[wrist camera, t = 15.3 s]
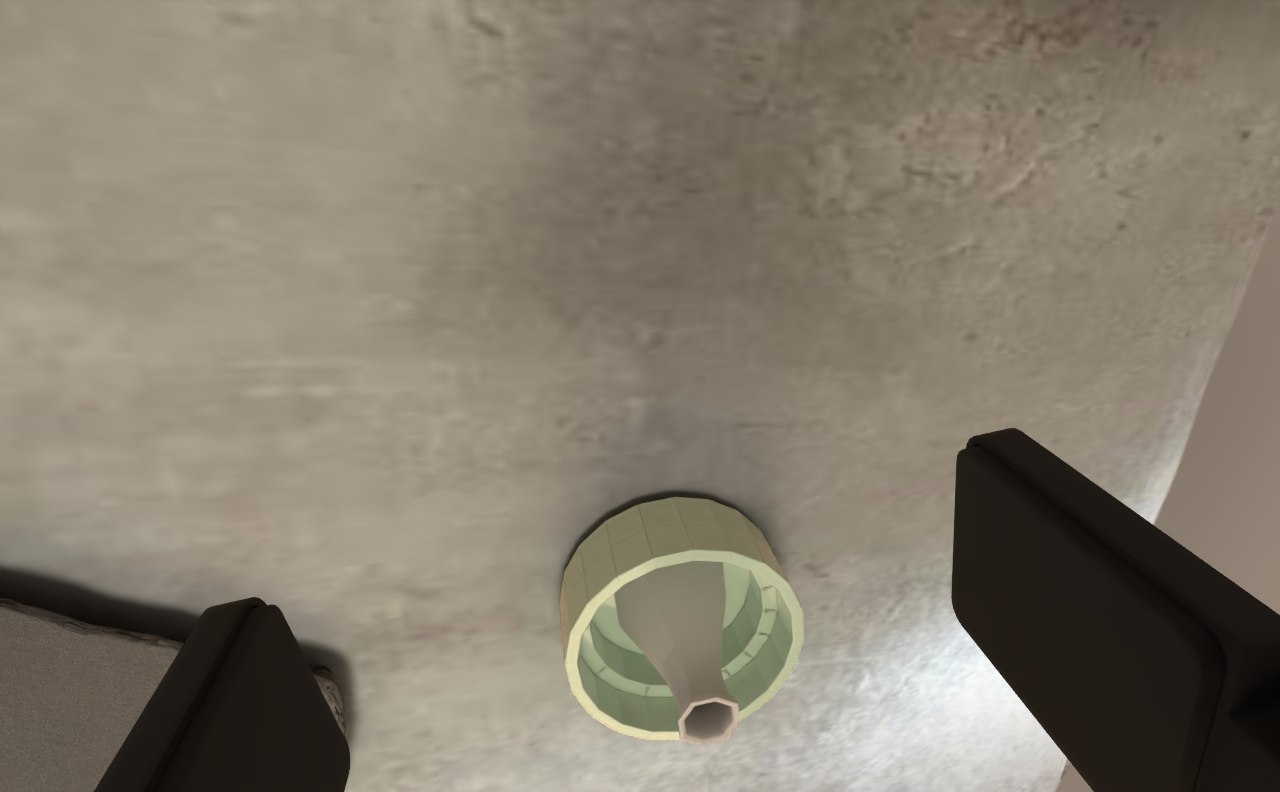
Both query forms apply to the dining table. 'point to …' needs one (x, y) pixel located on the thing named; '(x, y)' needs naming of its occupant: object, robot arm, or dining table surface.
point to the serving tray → (79, 696)
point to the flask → (684, 642)
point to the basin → (658, 537)
